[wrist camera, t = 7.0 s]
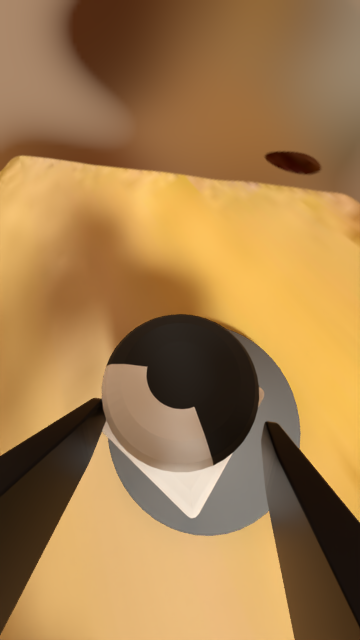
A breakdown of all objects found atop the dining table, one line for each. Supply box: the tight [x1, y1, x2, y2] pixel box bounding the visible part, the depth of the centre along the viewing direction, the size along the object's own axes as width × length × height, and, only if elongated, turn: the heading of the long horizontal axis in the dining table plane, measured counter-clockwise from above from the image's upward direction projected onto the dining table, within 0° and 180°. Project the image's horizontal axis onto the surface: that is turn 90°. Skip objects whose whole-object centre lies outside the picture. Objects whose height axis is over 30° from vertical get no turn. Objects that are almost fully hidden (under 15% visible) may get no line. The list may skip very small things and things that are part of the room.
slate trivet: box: [108, 329, 300, 536], centre depth 20 cm, size 16×16×2 cm
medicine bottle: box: [102, 314, 264, 518], centre depth 13 cm, size 7×7×12 cm
